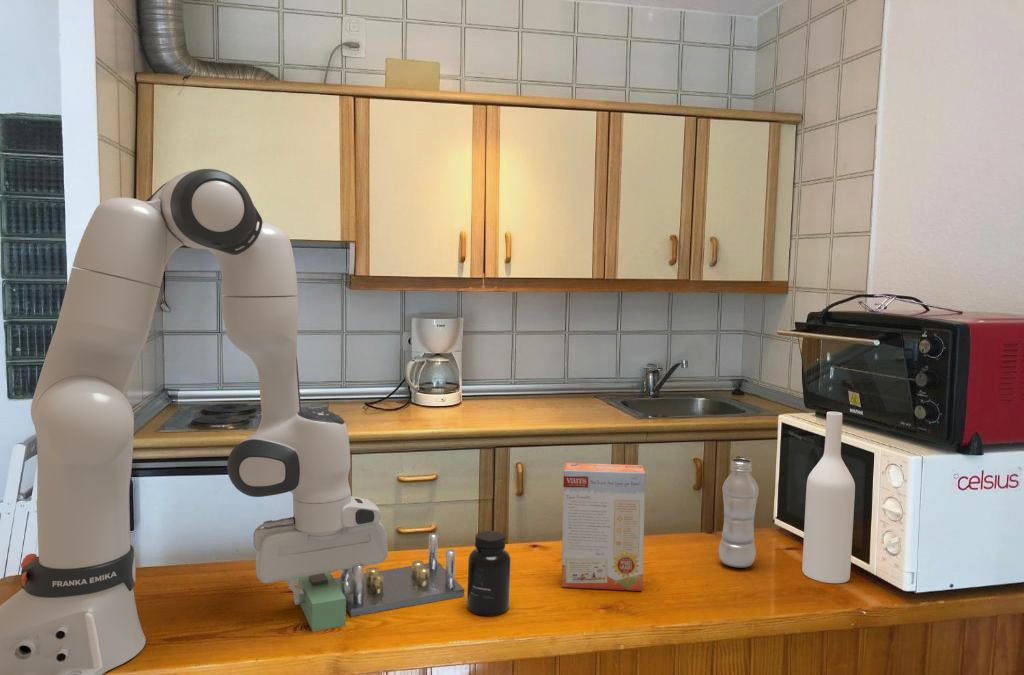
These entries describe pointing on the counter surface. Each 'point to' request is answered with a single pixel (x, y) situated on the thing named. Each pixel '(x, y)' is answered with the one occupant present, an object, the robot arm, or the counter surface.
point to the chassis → (402, 584)
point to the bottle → (829, 512)
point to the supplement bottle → (489, 575)
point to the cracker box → (603, 526)
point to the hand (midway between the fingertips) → (324, 598)
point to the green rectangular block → (323, 602)
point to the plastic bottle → (739, 515)
